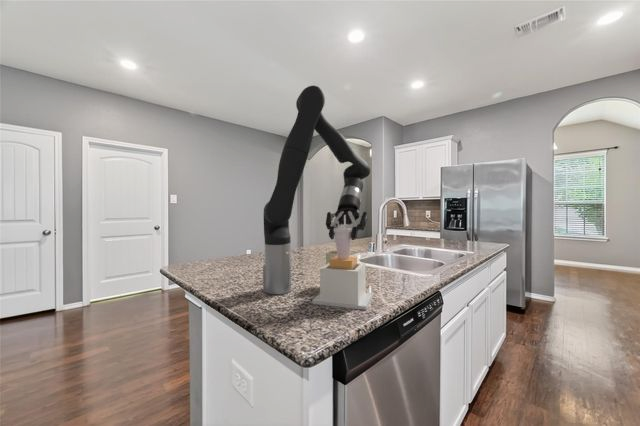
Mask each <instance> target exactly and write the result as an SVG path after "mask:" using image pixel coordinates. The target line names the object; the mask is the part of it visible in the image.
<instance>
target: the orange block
mask: <svg viewBox="0 0 640 426" xmlns="http://www.w3.org/2000/svg"><path fill="white" fill-rule="evenodd" d="M329 262H330V268H331V269H346V270H355V269H356V268H357V263H358V258H357V256H350V257H349V259H338V256H335V257H333V258H332V259H330V260H329Z"/></svg>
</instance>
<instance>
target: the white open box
mask: <svg viewBox="0 0 640 426" xmlns="http://www.w3.org/2000/svg"><path fill="white" fill-rule="evenodd" d="M366 273H367V272H366V263H361V262H357V268H356V269H355V270H346V269H331V268H330V263H328V264H327V265H326V264H324V266H322V267H321V268H319V294H318V295H317V296H315V297H314V298H313V299H312V300H311V303H312V304H313V305H320V306H331V307H337V308H338V307H340V308H346V309H355V310H366V311H367V310H368V308H369V306H370V304H371V302H372V299H373V298H374V293H373V292H366V290H367V289H366V288H367V287H366V285H367V283H366Z"/></svg>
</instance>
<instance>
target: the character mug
mask: <svg viewBox="0 0 640 426" xmlns="http://www.w3.org/2000/svg"><path fill="white" fill-rule="evenodd" d="M335 256H338V255H337V250H328V251H326V252H325V265H327V264H328V263H330V262H329V260H330V259H332V258H333V257H335Z"/></svg>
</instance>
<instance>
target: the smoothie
mask: <svg viewBox="0 0 640 426" xmlns="http://www.w3.org/2000/svg"><path fill="white" fill-rule="evenodd" d="M346 226H347V224H346V215H344V225H343V227H338V228H334V231H333V232H334V233H335V235H334V239H335V245H336V247H335V248H336V251H337V255H338V259H349V257H351V255H350V254H351V247H352V239H351V233H352V228H353V227H346Z"/></svg>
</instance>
